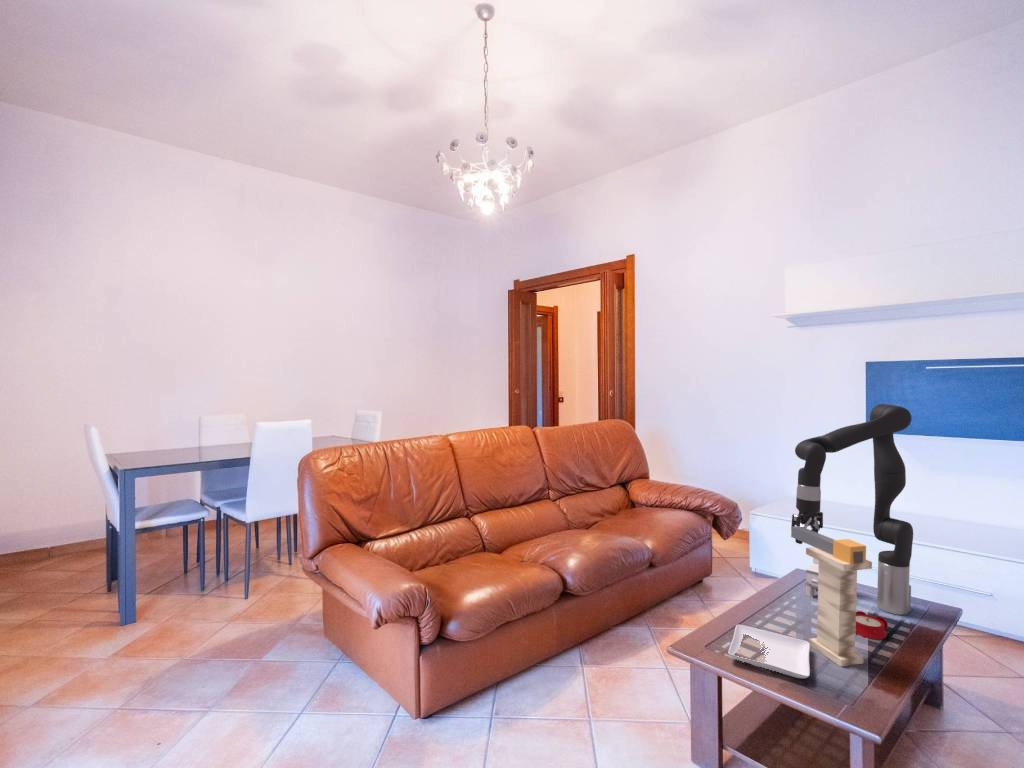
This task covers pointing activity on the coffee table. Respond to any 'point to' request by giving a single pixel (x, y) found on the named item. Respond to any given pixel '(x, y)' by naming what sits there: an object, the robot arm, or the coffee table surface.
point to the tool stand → (836, 608)
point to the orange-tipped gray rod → (832, 545)
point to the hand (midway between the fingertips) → (806, 541)
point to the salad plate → (775, 651)
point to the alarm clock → (870, 626)
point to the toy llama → (812, 578)
